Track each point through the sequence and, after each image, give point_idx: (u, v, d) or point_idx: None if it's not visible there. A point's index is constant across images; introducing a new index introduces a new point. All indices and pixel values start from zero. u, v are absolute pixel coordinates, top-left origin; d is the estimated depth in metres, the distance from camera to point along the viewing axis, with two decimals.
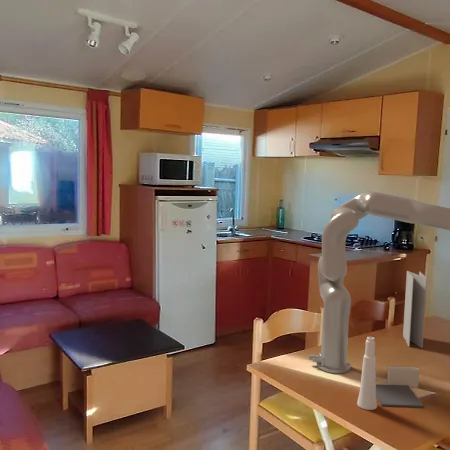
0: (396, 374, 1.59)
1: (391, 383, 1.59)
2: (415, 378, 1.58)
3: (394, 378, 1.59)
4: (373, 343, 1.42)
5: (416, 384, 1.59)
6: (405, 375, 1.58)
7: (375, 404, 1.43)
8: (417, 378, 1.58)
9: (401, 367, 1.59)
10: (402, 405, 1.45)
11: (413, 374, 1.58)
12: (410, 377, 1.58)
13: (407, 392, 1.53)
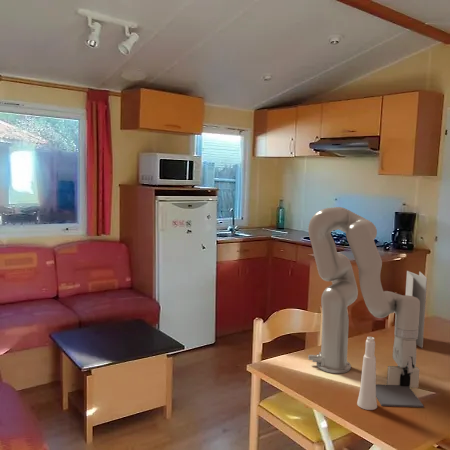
0: (396, 374, 1.58)
1: (391, 383, 1.59)
2: (415, 378, 1.58)
3: (394, 378, 1.59)
4: (373, 343, 1.42)
5: (416, 384, 1.58)
6: None
7: (375, 404, 1.43)
8: (417, 378, 1.58)
9: None
10: (402, 405, 1.45)
11: (413, 374, 1.58)
12: (410, 377, 1.58)
13: (407, 392, 1.53)
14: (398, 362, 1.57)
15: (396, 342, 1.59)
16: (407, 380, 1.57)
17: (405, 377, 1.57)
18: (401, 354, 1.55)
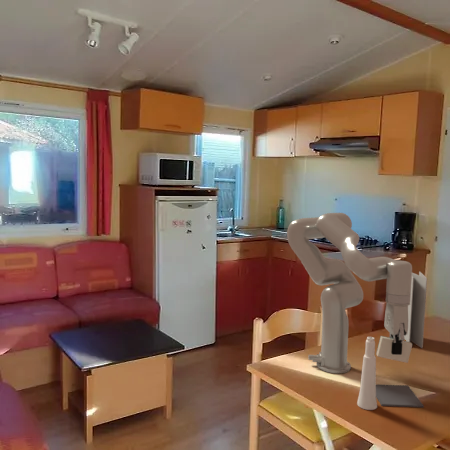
0: (388, 345, 1.52)
1: (381, 353, 1.53)
2: (406, 352, 1.52)
3: (385, 349, 1.52)
4: (373, 343, 1.42)
5: (406, 359, 1.52)
6: None
7: (375, 404, 1.43)
8: (408, 353, 1.52)
9: None
10: (402, 405, 1.45)
11: (405, 348, 1.52)
12: None
13: (407, 392, 1.53)
14: (389, 329, 1.51)
15: (387, 309, 1.53)
16: (399, 348, 1.51)
17: (397, 345, 1.51)
18: (392, 320, 1.48)
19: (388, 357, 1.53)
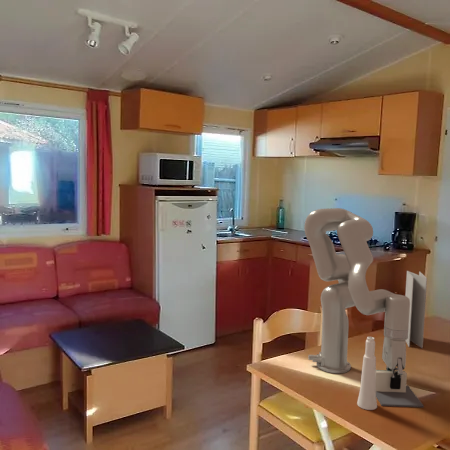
0: (383, 378, 1.53)
1: (378, 388, 1.54)
2: (402, 383, 1.53)
3: (381, 382, 1.53)
4: (373, 343, 1.42)
5: (404, 389, 1.53)
6: None
7: (375, 404, 1.43)
8: (405, 383, 1.53)
9: (388, 372, 1.54)
10: (402, 405, 1.45)
11: None
12: None
13: (407, 392, 1.53)
14: (387, 363, 1.52)
15: (385, 342, 1.54)
16: (397, 383, 1.51)
17: (395, 380, 1.51)
18: (390, 355, 1.50)
19: (385, 390, 1.54)
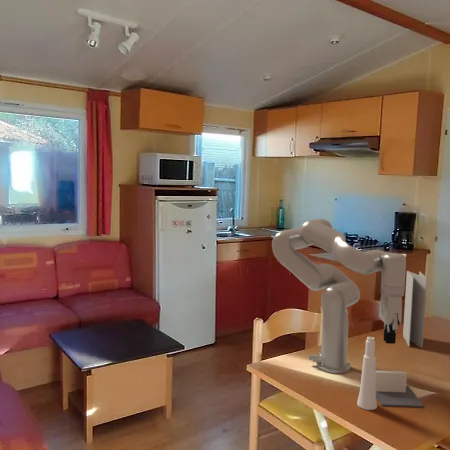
0: (383, 378, 1.53)
1: (378, 388, 1.54)
2: (403, 383, 1.53)
3: (381, 382, 1.53)
4: (373, 343, 1.42)
5: (404, 389, 1.53)
6: (392, 379, 1.53)
7: (375, 404, 1.43)
8: (405, 383, 1.53)
9: (388, 372, 1.54)
10: (402, 405, 1.45)
11: (400, 378, 1.53)
12: (397, 382, 1.53)
13: (407, 392, 1.53)
14: (384, 319, 1.56)
15: (382, 300, 1.59)
16: (392, 337, 1.57)
17: (390, 334, 1.57)
18: (387, 311, 1.54)
19: (385, 390, 1.54)
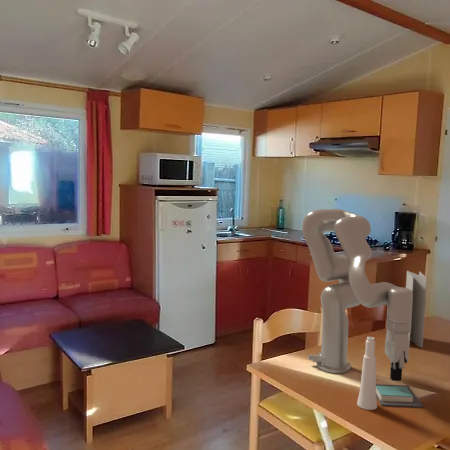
0: None
1: None
2: None
3: None
4: (373, 343, 1.42)
5: None
6: None
7: (375, 404, 1.43)
8: None
9: (394, 399, 1.47)
10: (402, 405, 1.45)
11: None
12: None
13: None
14: (390, 357, 1.49)
15: (388, 336, 1.52)
16: (398, 374, 1.51)
17: (396, 371, 1.50)
18: (393, 348, 1.47)
19: None
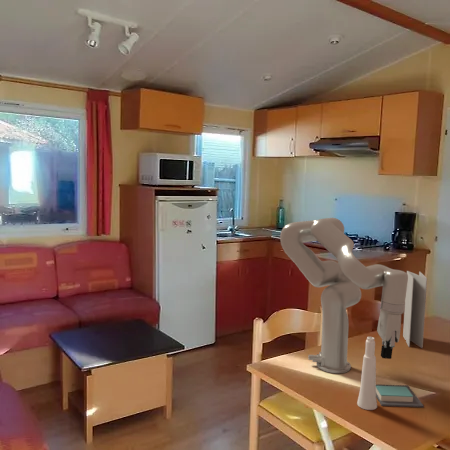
0: None
1: None
2: None
3: None
4: (373, 343, 1.42)
5: None
6: None
7: (375, 404, 1.43)
8: None
9: (394, 399, 1.47)
10: (402, 405, 1.45)
11: None
12: None
13: None
14: (382, 335, 1.56)
15: (381, 316, 1.58)
16: (389, 352, 1.57)
17: (387, 349, 1.57)
18: (385, 328, 1.53)
19: None
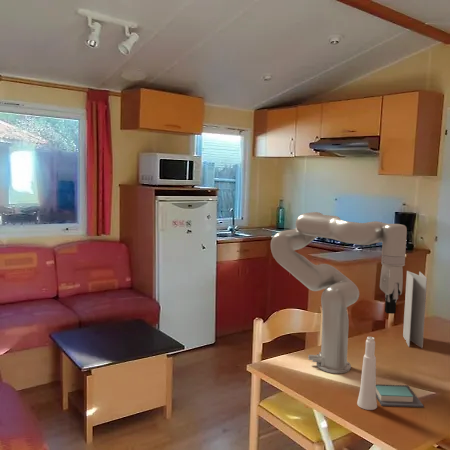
0: None
1: None
2: None
3: None
4: (373, 343, 1.42)
5: None
6: None
7: (375, 404, 1.43)
8: None
9: (394, 399, 1.47)
10: (402, 405, 1.45)
11: None
12: None
13: None
14: (385, 290, 1.56)
15: (383, 271, 1.59)
16: (393, 307, 1.57)
17: (391, 304, 1.57)
18: (387, 281, 1.54)
19: None
